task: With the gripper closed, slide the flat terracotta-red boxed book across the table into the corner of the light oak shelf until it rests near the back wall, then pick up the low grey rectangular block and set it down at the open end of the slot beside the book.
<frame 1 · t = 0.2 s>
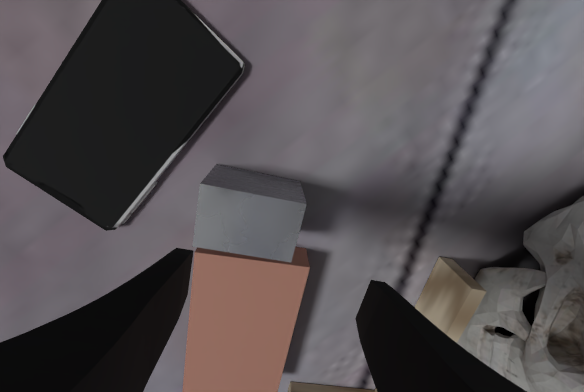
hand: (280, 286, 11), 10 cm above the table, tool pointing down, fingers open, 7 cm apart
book: (244, 307, 24), on the table
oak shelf: (362, 327, 25), on the table
grey rectangular block: (254, 197, 20), on the table
smartphone: (130, 114, 18), on the table
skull: (552, 260, 24), on the table
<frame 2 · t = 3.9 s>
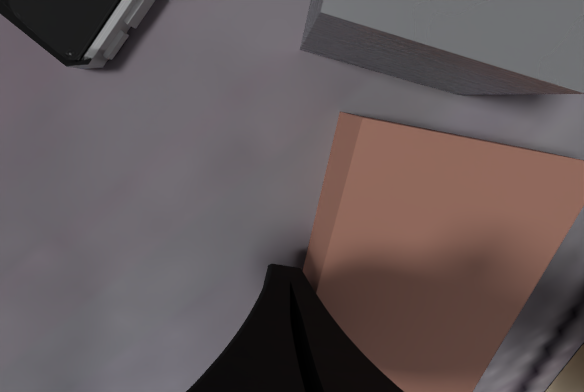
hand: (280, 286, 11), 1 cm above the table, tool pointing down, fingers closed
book: (382, 276, 13), on the table, touching gripper
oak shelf: (539, 309, 14), on the table
grey rectangular block: (401, 9, 9), on the table
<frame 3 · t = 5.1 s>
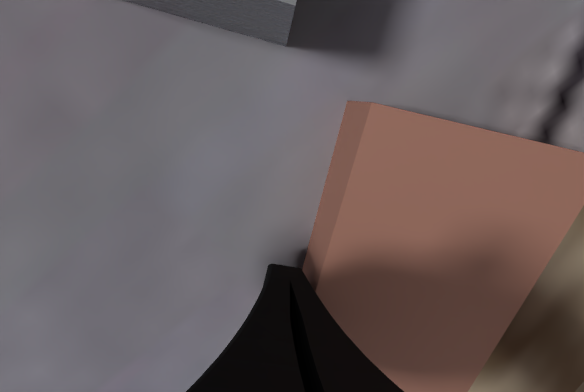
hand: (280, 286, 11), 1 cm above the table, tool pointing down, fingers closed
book: (383, 269, 13), on the table
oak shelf: (427, 290, 13), on the table
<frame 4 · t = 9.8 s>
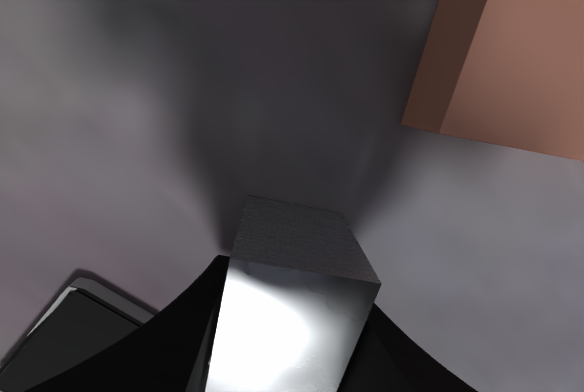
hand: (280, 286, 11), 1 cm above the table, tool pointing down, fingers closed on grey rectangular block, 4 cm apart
grey rectangular block: (279, 265, 12), on the table, touching gripper
smartphone: (178, 383, 15), on the table
when the fingers open (3 cm above the table, at t = 12.9 s): grey rectangular block drops 1 cm, on the table.
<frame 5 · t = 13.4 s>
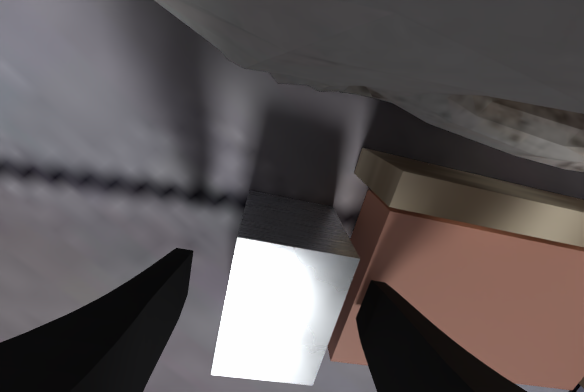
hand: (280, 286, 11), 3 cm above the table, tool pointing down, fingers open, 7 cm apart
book: (456, 276, 15), on the table
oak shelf: (477, 274, 15), on the table
grey rectangular block: (278, 251, 14), on the table
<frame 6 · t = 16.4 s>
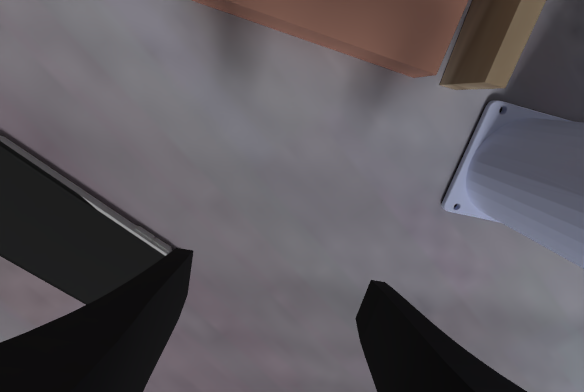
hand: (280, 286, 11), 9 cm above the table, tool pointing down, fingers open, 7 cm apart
smartphone: (83, 237, 20), on the table
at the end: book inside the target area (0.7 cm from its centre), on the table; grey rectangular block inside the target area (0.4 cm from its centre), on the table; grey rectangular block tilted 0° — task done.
